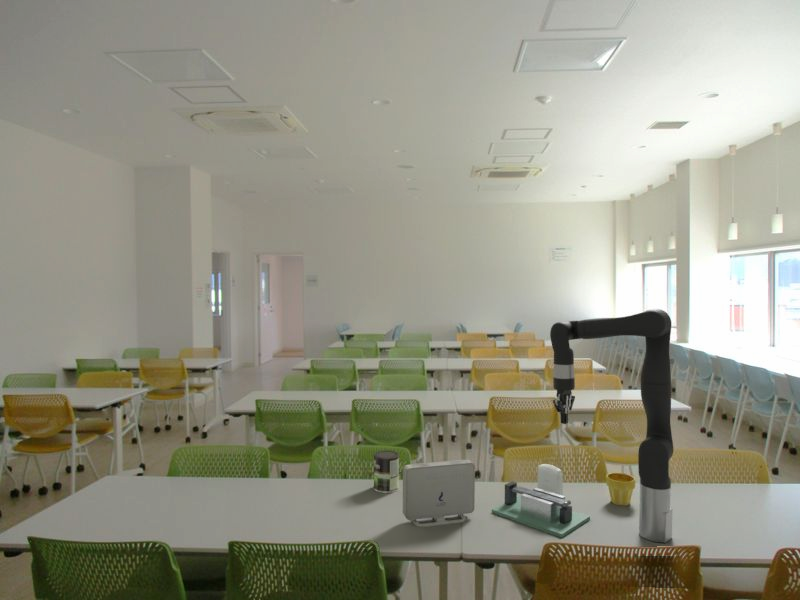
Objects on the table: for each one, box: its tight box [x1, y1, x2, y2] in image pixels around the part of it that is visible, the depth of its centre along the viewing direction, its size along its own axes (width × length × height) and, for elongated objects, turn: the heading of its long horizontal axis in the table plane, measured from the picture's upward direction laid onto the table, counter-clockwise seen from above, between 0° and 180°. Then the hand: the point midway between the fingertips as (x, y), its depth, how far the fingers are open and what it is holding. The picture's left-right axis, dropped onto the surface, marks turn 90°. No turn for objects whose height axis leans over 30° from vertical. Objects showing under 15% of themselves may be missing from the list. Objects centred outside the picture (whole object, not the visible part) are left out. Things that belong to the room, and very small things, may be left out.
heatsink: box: [504, 480, 573, 524], centre depth 201 cm, size 24×10×7 cm, turn 45°
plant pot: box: [605, 472, 636, 506], centre depth 213 cm, size 10×10×10 cm
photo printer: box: [537, 463, 564, 496], centre depth 218 cm, size 10×4×12 cm, turn 39°
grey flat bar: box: [512, 485, 572, 508], centre depth 200 cm, size 21×4×1 cm, turn 45°
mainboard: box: [491, 494, 591, 538], centre depth 200 cm, size 28×20×1 cm
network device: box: [402, 459, 476, 528], centre depth 197 cm, size 26×9×20 cm, turn 105°
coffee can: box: [373, 450, 400, 494], centre depth 226 cm, size 10×10×14 cm
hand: (564, 423), depth 204 cm, fingers closed
